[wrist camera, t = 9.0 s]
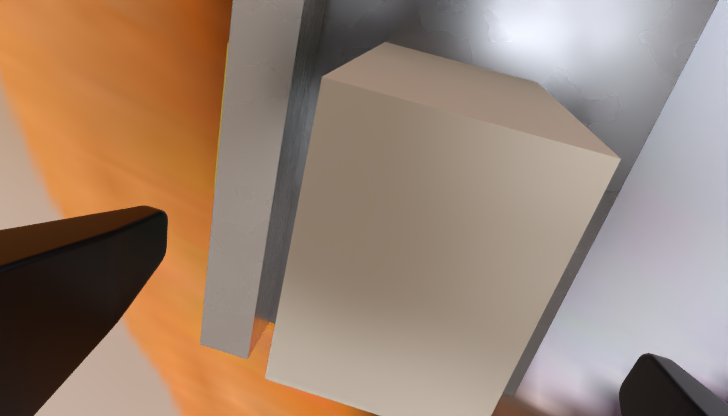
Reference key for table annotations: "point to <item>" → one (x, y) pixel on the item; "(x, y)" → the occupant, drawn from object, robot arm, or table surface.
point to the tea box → (429, 233)
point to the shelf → (437, 37)
